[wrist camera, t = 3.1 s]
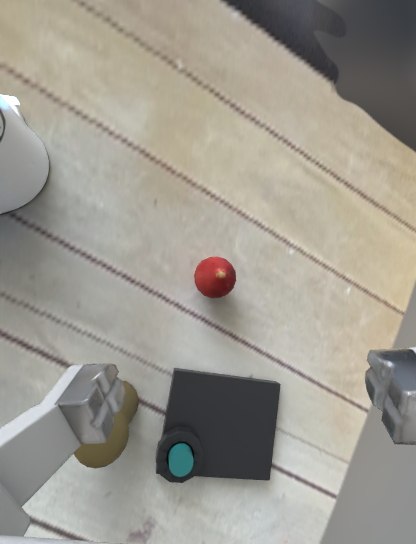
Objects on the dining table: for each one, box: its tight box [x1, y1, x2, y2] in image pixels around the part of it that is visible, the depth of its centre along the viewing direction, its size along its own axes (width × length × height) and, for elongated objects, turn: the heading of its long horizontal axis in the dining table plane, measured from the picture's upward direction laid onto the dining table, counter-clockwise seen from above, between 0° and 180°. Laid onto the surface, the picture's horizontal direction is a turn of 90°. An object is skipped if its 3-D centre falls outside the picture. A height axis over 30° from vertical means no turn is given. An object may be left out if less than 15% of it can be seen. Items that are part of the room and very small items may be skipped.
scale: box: [156, 368, 280, 483], centre depth 36 cm, size 16×13×3 cm
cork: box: [74, 380, 138, 468], centre depth 29 cm, size 6×6×11 cm
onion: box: [194, 257, 236, 298], centre depth 36 cm, size 6×6×8 cm
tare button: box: [168, 443, 194, 477], centre depth 32 cm, size 3×3×2 cm
